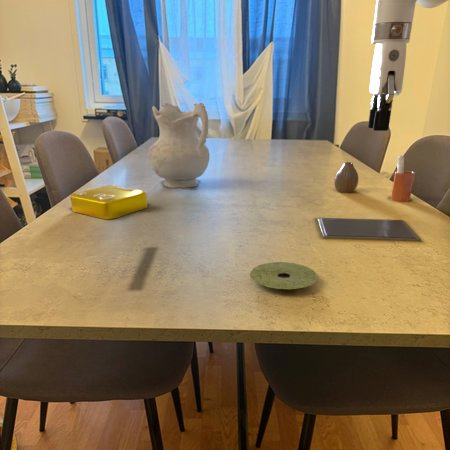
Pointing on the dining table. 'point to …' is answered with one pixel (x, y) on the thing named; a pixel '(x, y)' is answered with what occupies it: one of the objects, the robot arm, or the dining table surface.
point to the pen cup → (402, 186)
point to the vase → (346, 178)
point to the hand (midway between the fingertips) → (377, 128)
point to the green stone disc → (283, 275)
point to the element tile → (109, 201)
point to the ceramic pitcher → (180, 146)
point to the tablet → (366, 229)
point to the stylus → (401, 164)
